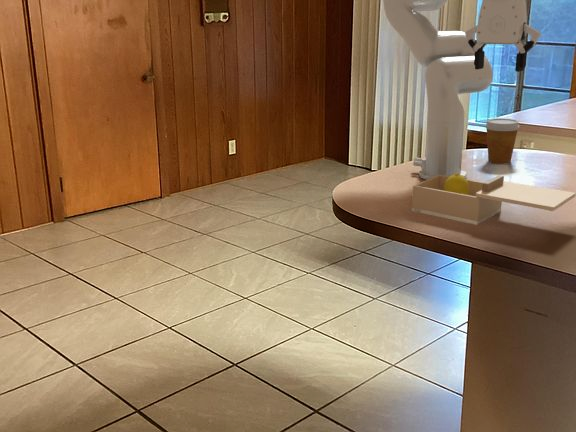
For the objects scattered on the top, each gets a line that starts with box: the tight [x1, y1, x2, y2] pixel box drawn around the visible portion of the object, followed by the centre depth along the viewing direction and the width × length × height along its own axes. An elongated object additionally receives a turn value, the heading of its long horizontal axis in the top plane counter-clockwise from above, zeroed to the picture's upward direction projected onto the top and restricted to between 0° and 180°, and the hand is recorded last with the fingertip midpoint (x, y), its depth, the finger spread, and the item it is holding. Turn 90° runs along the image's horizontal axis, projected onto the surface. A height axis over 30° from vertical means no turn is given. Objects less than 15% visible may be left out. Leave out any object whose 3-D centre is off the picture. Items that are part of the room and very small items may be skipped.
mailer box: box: [411, 175, 503, 226], centre depth 149 cm, size 16×12×6 cm
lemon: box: [444, 173, 469, 195], centre depth 149 cm, size 6×6×8 cm
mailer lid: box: [475, 174, 576, 212], centre depth 138 cm, size 16×12×3 cm
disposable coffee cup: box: [484, 118, 521, 165], centre depth 191 cm, size 10×10×12 cm
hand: (498, 70), depth 151 cm, fingers open, 9 cm apart
